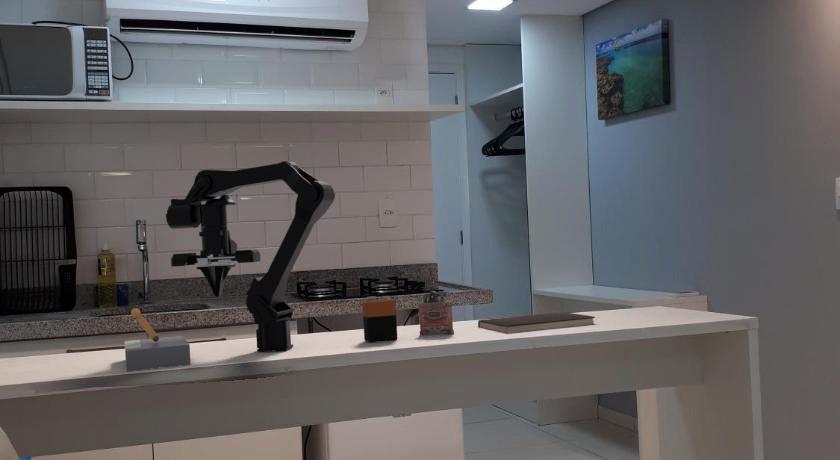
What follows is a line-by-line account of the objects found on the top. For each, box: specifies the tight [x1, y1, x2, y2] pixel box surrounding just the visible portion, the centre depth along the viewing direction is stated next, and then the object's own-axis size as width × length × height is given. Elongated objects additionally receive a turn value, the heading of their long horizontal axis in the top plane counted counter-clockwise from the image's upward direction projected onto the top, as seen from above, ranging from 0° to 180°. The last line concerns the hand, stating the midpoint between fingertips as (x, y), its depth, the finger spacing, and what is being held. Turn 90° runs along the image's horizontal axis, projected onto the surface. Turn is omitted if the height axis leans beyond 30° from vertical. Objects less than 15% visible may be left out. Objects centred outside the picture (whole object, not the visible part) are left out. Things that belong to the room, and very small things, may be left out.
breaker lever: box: [130, 307, 160, 342], centre depth 165 cm, size 2×4×8 cm
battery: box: [361, 295, 398, 344], centre depth 180 cm, size 4×7×10 cm, turn 108°
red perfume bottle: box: [417, 290, 455, 336], centre depth 186 cm, size 8×3×10 cm, turn 76°
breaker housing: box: [124, 335, 191, 372], centre depth 166 cm, size 12×18×4 cm, turn 21°
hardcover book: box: [477, 311, 596, 334], centre depth 192 cm, size 16×23×2 cm
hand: (218, 296), depth 178 cm, fingers closed
